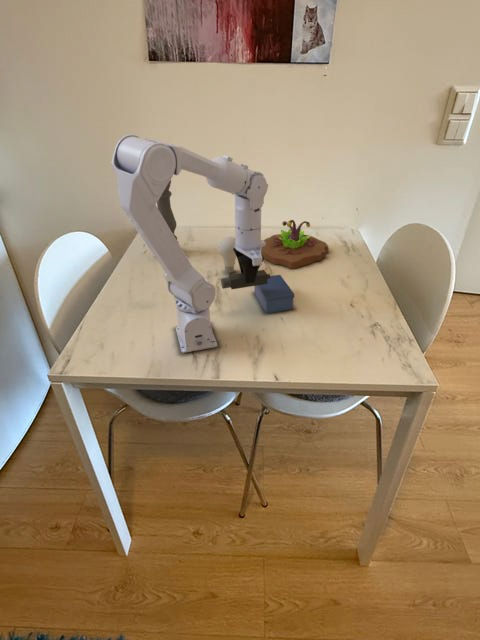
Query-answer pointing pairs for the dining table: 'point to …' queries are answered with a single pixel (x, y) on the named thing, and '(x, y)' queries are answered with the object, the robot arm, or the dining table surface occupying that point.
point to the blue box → (275, 295)
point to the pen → (239, 280)
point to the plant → (293, 247)
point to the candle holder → (167, 209)
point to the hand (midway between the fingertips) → (248, 279)
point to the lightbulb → (227, 252)
